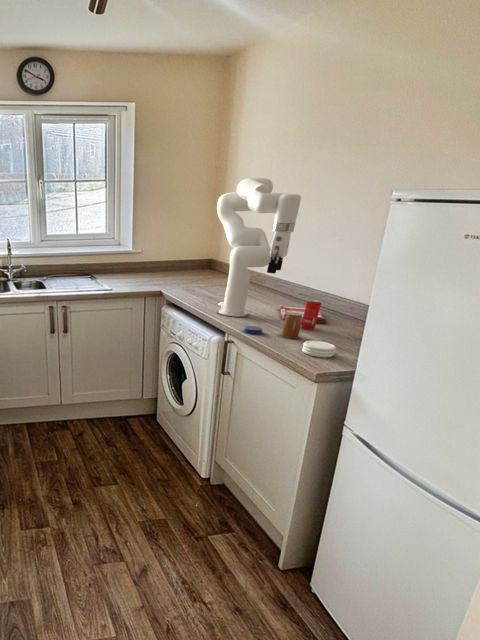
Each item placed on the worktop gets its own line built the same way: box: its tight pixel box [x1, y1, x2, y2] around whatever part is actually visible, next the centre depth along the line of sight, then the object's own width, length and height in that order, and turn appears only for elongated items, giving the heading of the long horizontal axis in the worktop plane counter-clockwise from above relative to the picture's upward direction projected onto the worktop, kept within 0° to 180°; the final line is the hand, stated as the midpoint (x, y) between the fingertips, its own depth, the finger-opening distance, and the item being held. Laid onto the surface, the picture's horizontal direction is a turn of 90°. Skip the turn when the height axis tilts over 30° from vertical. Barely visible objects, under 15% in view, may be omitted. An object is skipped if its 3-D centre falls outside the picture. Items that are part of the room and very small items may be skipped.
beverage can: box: [301, 299, 322, 331], centre depth 194 cm, size 5×5×12 cm
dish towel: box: [278, 304, 327, 324], centre depth 214 cm, size 17×23×3 cm
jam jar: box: [280, 312, 303, 340], centre depth 183 cm, size 6×6×10 cm
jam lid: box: [243, 325, 263, 335], centre depth 190 cm, size 7×7×2 cm
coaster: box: [301, 340, 337, 359], centre depth 165 cm, size 10×10×4 cm
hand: (273, 271), depth 186 cm, fingers open, 9 cm apart
